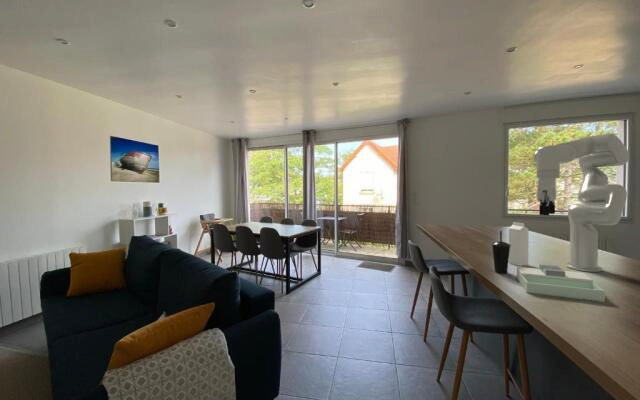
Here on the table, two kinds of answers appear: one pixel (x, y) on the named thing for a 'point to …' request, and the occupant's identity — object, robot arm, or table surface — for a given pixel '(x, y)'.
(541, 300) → the table surface
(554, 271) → the slate tile
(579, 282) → the box
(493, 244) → the drinking cup
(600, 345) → the table surface
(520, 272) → the cream rectangular block
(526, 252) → the milk
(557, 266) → the slate tile
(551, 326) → the table surface
